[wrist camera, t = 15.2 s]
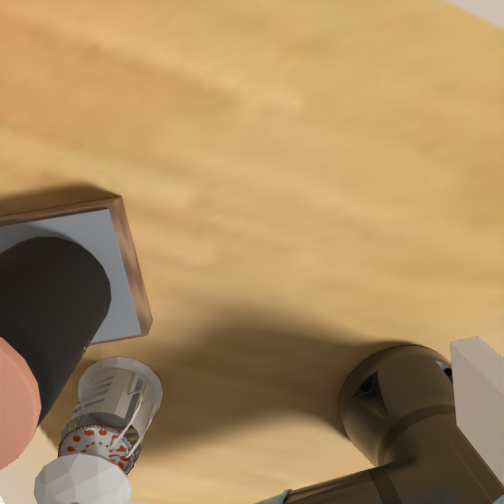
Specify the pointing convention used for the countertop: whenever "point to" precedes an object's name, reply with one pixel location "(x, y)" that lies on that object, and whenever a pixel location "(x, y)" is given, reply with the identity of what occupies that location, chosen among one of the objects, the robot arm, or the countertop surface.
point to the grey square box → (103, 249)
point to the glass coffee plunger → (102, 435)
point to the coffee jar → (43, 329)
